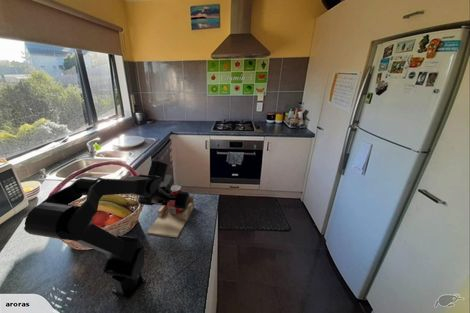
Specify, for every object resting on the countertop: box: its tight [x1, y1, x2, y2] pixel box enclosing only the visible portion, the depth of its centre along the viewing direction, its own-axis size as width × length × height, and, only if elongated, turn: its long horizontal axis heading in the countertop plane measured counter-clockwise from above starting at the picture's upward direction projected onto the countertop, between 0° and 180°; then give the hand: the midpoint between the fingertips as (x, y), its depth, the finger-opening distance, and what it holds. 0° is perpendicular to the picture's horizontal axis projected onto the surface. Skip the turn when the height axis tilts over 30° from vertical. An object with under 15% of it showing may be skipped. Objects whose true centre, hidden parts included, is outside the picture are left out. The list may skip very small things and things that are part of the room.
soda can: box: [168, 184, 184, 214], centre depth 88 cm, size 7×7×12 cm
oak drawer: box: [146, 194, 195, 238], centre depth 85 cm, size 19×12×7 cm, turn 172°
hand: (171, 202), depth 84 cm, fingers open, 9 cm apart
